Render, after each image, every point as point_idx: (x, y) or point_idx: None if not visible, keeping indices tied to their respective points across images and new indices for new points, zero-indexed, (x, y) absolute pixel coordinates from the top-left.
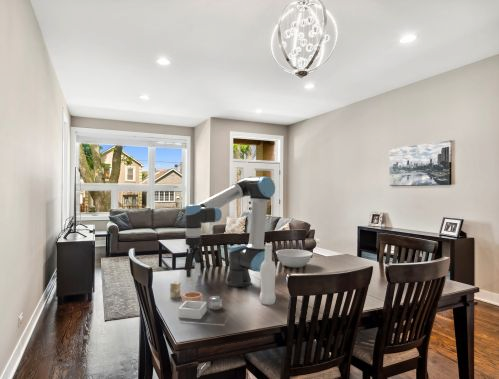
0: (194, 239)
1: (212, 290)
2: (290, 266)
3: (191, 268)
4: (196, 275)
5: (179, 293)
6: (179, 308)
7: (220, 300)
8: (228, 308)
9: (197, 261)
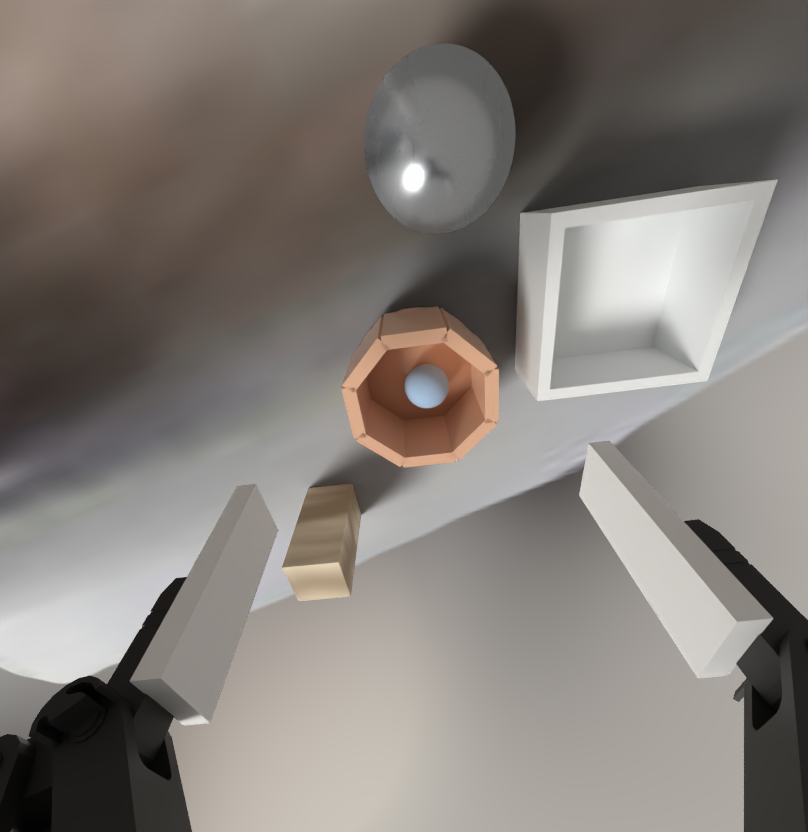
0: None
1: (66, 362)
2: None
3: (802, 662)
4: (271, 516)
5: (317, 505)
6: (708, 374)
7: (468, 57)
8: (387, 5)
9: (147, 736)
